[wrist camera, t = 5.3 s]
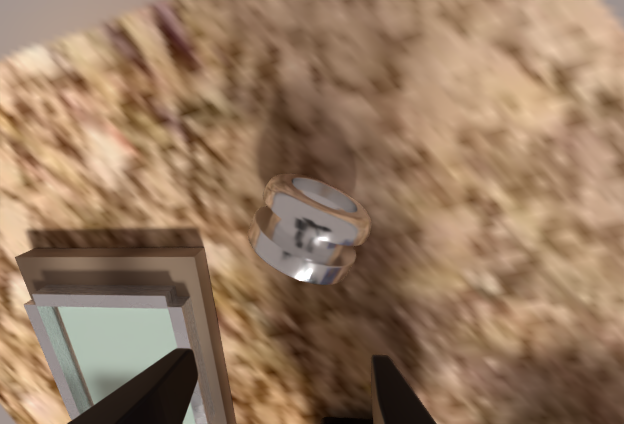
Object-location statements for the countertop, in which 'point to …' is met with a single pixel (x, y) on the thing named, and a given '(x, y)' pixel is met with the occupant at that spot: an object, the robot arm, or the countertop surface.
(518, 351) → the countertop surface
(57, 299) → the rail guides
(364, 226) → the metal grooved wheel
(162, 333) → the rail board
